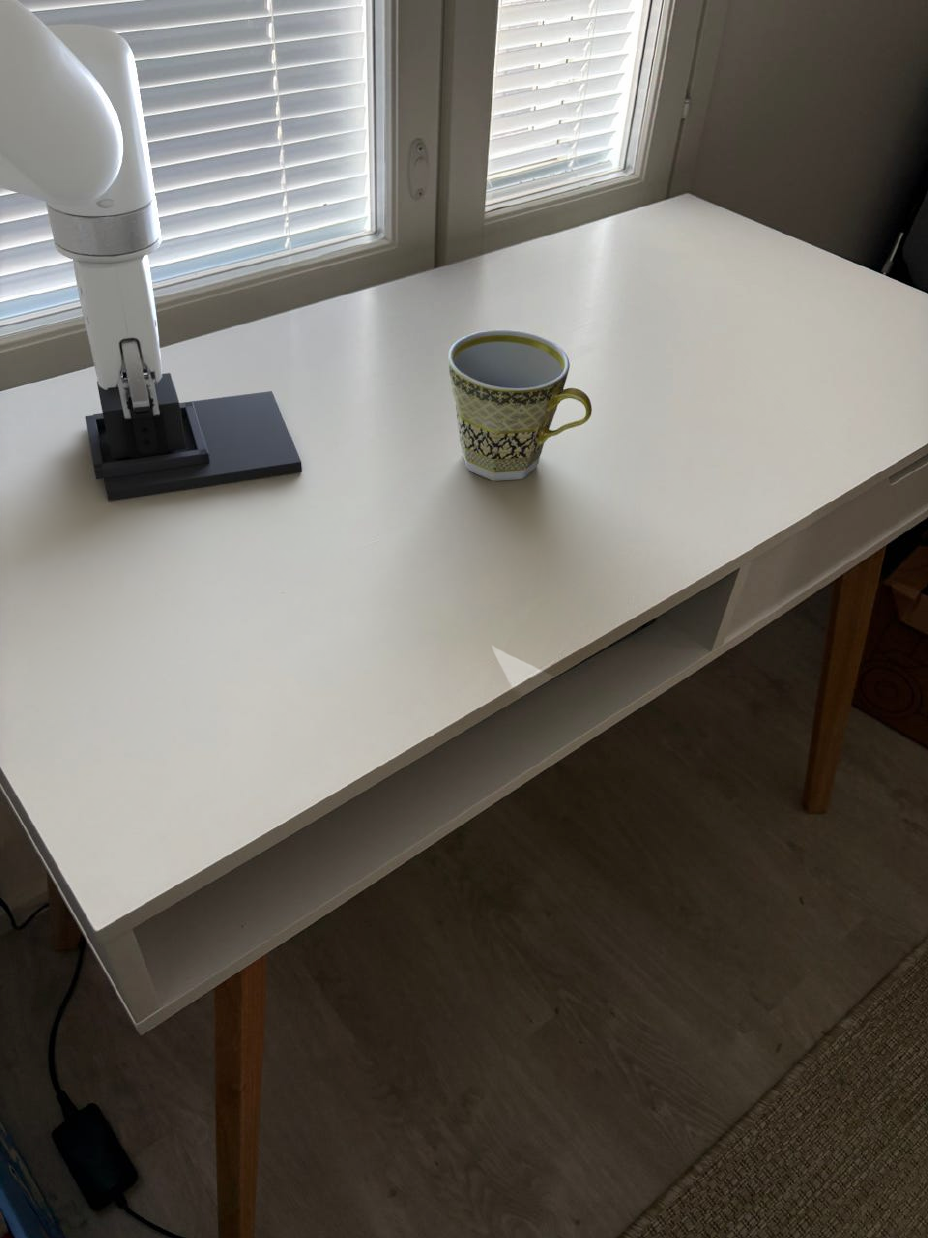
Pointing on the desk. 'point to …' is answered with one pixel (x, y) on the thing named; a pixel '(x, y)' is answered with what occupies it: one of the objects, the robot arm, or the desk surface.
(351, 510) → the desk surface
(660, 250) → the desk surface
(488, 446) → the ceramic cup
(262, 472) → the base pad
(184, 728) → the desk surface
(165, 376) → the dark grey block
